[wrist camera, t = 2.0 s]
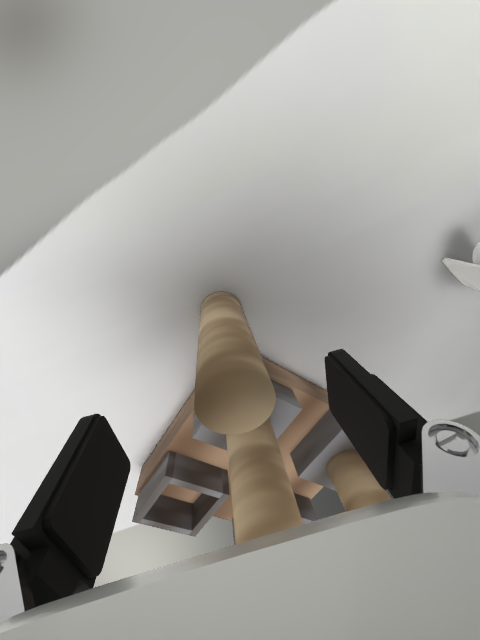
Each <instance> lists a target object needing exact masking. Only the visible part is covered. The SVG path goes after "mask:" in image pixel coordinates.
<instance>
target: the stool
mask: <svg viewBox="0 0 480 640" xmlns="http://www.w3.org/2000/svg"><path fill="white" fill-rule="evenodd" d="M262 360H263V362H264V365H265V367H266V370H267V372H268V375H269V377H270V380H271V382H272V385H273V387H274V390H275V395H276V402H275V407H274V409H273V411H272V413H271V415H270V416H269V418H268V419H267V420H266V421H265V422H264V423H263V424H262V425H260V426H259V427H257V428H255V429H254V430H251V431H249V432H246V433H242V434H236V435H226V434H220V433H217V432H214V431H212V430H210V429H208V428H206V427H205V426H204V425H203V424H202V423H201V422H200V421H199V419H198V418H197V416H196V413H195V410H194V398H195V390H194V391H193V393H192V394H191V395H190V397H189V398H188V400H187V401H186V403H185V404H184V406H183V407H182V409H181V410H180V412H179V413H178V415H177V416H176V418H175V419H174V421H173V422H172V424H171V425H170V427H169V428H168V430H167V431H166V432H165V434H164V435H163V437H162V438H161V440H160V441H159V443H158V444H157V446H156V447H155V449H154V450H153V452H152V453H151V455H150V456H149V458H148V459H147V461H146V462H145V464H144V465H143V467H142V469H141V473H140V477H139V481H138V484H137V488H136V492H135V495H137V496H138V500H137V504H136V508H135V512H134V516H133V520H132V522H136V523H140V524H144V525H148V526H152V527H157V528H161V529H165V530H169V531H174V532H178V533H182V534H186V535H190V536H196V535H197V534H198V532H199V531H200V530H201V529H202V528H203V526H204V525H205V524H206V523H207V522H208V520H209V519H210V518H211V517H212V516H215V517H218V518H222V519H226V520H229V521H232V523H233V535H234V545H236V544H239V543H242V542H246V541H249V540H252V539H256V538H259V537H262V536H266V535H269V534H272V533H276V532H279V531H283V530H286V529H289V528H293V527H296V526H300V525H303V524H306V523H310V522H313V521H316V520H317V517H316V514H315V512H314V509H313V507H312V504H311V501H310V500H311V499H312V498H313V497H314V496H315V495H316V494H317V493H318V492H319V491H320V490H321V489H322V488H323V487H327V488H329V489H332V490H335V491H337V493H338V495H339V497H340V500H341V501H342V504H343V506H344V508H345V510H346V512H347V511H351V510H355V509H358V508H362V507H365V506H369V505H373V504H376V503H380V502H384V501H387V500H391V498H390V496H389V495H388V493H387V492H386V490H384V489H383V488H382V487H381V486H380V485H379V483H378V482H377V480H376V479H375V477H374V476H373V474H372V473H371V471H370V470H369V468H368V467H367V465H366V464H365V462H364V461H363V459H362V458H361V456H360V455H359V453H358V452H357V450H356V449H355V448H354V446H353V445H352V443H351V442H350V440H349V439H348V437H347V436H346V434H345V433H344V431H343V430H342V428H341V427H340V425H339V424H338V422H337V421H336V419H335V418H334V416H333V415H332V413H331V411H330V409H329V404H328V393H327V391H325V390H324V389H322V388H320V387H318V386H316V385H314V384H312V383H310V382H308V381H306V380H305V379H303V378H301V377H299V376H297V375H295V374H293V373H291V372H289V371H287V370H286V369H284V368H282V367H280V366H278V365H276V364H274V363H272V362H270V361H268V360H267V359H265V358H263V357H262Z"/></svg>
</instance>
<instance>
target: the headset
mask: <svg viewBox="0 0 480 640" xmlns="http://www.w3.org/2000/svg"><path fill="white" fill-rule="evenodd" d="M472 260H473V263H474V264H472V263H468V262H463V261H459V260H454V259H449V258H444V259H442V262H443V263H444V264H445V266H446V267H447V268H448V269H449V270H450V271H451V272H452V274H453V275H454V276H455V277H456V278H457V279H458V280H459V281H460V282H461V283H462V284H464V285H466V286H468V287H470V288H472V289H475V290H478V291H480V242H479V243H478V244H477V246H476V247H475V249H474V251H473V255H472Z"/></svg>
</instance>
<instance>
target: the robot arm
mask: <svg viewBox="0 0 480 640" xmlns="http://www.w3.org/2000/svg"><path fill="white" fill-rule="evenodd" d="M325 369H326V381H327V393H328V404H329V409H330V411H331V413H332V415H333V416H334V418H335V419H336V421H337V422H338V424H339V425H340V427H341V428H342V430H343V431H344V433H345V434H346V436H347V437H348V439H349V440H350V442H351V443H352V445H353V446H354V448H355V449H356V450H357V452H358V453H359V455H360V456H361V458H362V459H363V461H364V462H365V464H366V465H367V467H368V468H369V470H370V471H371V473H372V474H373V476H374V477H375V479H376V480H377V482H378V483H379V485H380V486H381V487H382V488H383V489H384V490H386V489H388V490H389V492H390V493H391V494H392V496H393V497H394V499H391V500H387V501H384V502H380V503H376V504H373V505H369V506H365V507H362V508H358V509H355V510H351V511H347V512H344V513H340V514H337V515H334V516H330V517H327V518H323V519H320V520H316V521H313V522H310V523H306V524H303V525H300V526H296V527H293V528H289V529H286V530H283V531H279V532H276V533H272V534H269V535H266V536H262V537H259V538H256V539H252V540H249V541H246V542H242V543H239V544H236V545H232V546H229V547H226V548H223V549H219V550H216V551H213V552H209V553H206V554H203V555H199V556H196V557H193V558H190V559H186V560H183V561H180V562H176V563H173V564H170V565H167V566H163V567H160V568H157V569H154V570H150V571H147V572H144V573H141V574H138V575H134V576H131V577H128V578H124V579H121V580H118V581H115V582H111V583H108V584H105V585H102V586H98V587H95V588H93V586H94V583H95V579H96V576H98V575H99V574H100V573H101V571H102V568H103V564H104V561H105V557H106V554H107V550H108V546H109V543H110V540H111V536H112V532H113V529H114V525H115V522H116V518H117V515H118V511H119V508H120V504H121V500H122V497H123V493H124V490H125V486H126V483H127V479H128V475H129V472H130V461H129V459H128V457H127V455H126V453H125V452H124V450H123V448H122V446H121V444H120V443H119V441H118V439H117V437H116V436H115V434H114V432H113V430H112V428H111V427H110V425H109V423H108V421H107V420H106V418H105V417H104V416H101V415H99V414H94V415H90V416H86V417H83V418H81V419H80V420H79V422H78V424H77V425H76V427H75V429H74V430H73V432H72V434H71V435H70V437H69V439H68V440H67V442H66V444H65V445H64V447H63V449H62V450H61V452H60V454H59V455H58V457H57V459H56V460H55V462H54V464H53V465H52V467H51V469H50V470H49V472H48V474H47V475H46V477H45V479H44V480H43V482H42V484H41V485H40V487H39V489H38V490H37V492H36V494H35V495H34V497H33V499H32V500H31V502H30V504H29V505H28V507H27V509H26V510H25V512H24V514H23V515H22V517H21V519H20V520H19V522H18V524H17V525H16V527H15V529H14V530H13V532H12V535H13V536H15V537H14V538H13V540H12V542H11V544H6V543H5V544H0V640H480V436H479V435H478V434H477V433H475V432H474V431H472V430H471V429H469V428H467V427H466V426H464V425H461V424H459V423H456V422H453V421H448V420H432V421H430V422H427V421H426V420H425V419H424V418H423V417H422V416H421V415H419V414H418V413H417V412H416V411H415V410H414V409H413V408H412V407H410V406H409V405H408V404H407V403H406V402H405V401H404V400H403V399H402V398H400V397H399V396H398V395H397V394H396V393H395V392H394V391H393V390H391V389H390V388H389V387H388V386H387V385H386V384H385V383H384V382H383V381H381V380H380V379H379V378H378V377H377V376H375V375H373V374H370V373H369V372H368V371H366V370H365V369H364V368H363V367H362V366H361V365H360V364H359V363H358V362H357V361H356V360H354V359H353V358H352V357H351V356H350V355H349V354H348V353H347V352H346V351H345V350H343V349H339V350H335V351H332V352H329V353H328V356H326V357H325ZM404 496H405V497H404Z"/></svg>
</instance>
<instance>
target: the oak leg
mask: <svg viewBox="0 0 480 640" xmlns="http://www.w3.org/2000/svg"><path fill="white" fill-rule="evenodd" d="M275 402H276V395H275V390H274V387H273V385H272V382H271V380H270V377H269V375H268V372H267V370H266V367H265V365H264V362H263V360H262V357H261V355H260V352H259V350H258V347H257V345H256V342H255V340H254V337H253V335H252V332H251V330H250V327H249V325H248V322H247V320H246V317H245V315H244V312H243V310H242V307H241V305H240V302H239V301H238V299H237V298H236V297H235V296H234V295H232V294H230V293H228V292H215V293H212V294H210V295H209V296H208V297H206V299H205V300H204V301H203V303H202V305H201V311H200V326H199V340H198V354H197V369H196V383H195V398H194V410H195V413H196V416H197V418H198V419H199V421H200V422H201V423H202V424H203V425H204V426H205V427H206V428H208V429H210V430H212V431H214V432H217V433H220V434H226V435H236V434H242V433H246V432H249V431H251V430H254V429H255V428H257V427H259V426H260V425H262V424H263V423H264V422H265V421H266V420H267V419H268V418H269V416H270V415H271V413H272V411H273V409H274V407H275Z"/></svg>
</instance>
